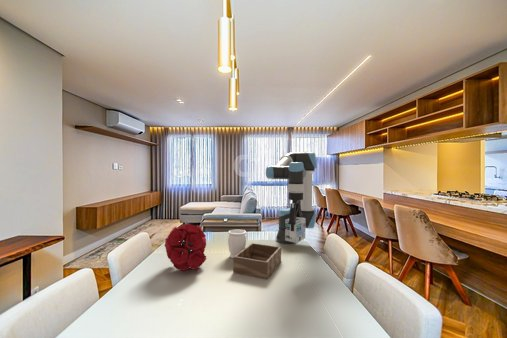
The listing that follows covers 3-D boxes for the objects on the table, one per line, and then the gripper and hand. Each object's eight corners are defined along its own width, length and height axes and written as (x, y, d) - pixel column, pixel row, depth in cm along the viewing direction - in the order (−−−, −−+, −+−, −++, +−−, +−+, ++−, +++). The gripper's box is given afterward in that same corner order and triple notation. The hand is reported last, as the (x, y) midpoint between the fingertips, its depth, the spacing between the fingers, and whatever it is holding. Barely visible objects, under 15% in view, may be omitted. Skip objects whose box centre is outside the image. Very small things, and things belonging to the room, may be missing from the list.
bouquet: (170, 271, 133) (153, 264, 107) (179, 230, 145) (166, 214, 119) (208, 274, 133) (200, 268, 107) (214, 233, 145) (208, 218, 119)
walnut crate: (251, 256, 140) (252, 242, 140) (281, 261, 133) (281, 247, 133) (233, 272, 118) (233, 256, 118) (267, 279, 111) (267, 262, 111)
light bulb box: (296, 243, 115) (296, 221, 115) (284, 240, 119) (284, 219, 119) (305, 238, 123) (306, 217, 123) (294, 235, 127) (294, 216, 127)
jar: (246, 253, 144) (247, 229, 144) (244, 260, 134) (244, 234, 134) (229, 253, 145) (230, 228, 145) (226, 259, 135) (226, 233, 135)
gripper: (293, 189, 133) (293, 227, 134) (282, 194, 111) (282, 239, 111) (307, 190, 130) (306, 229, 131) (298, 194, 108) (297, 241, 109)
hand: (295, 234), depth 121 cm, fingers closed on light bulb box, 11 cm apart
